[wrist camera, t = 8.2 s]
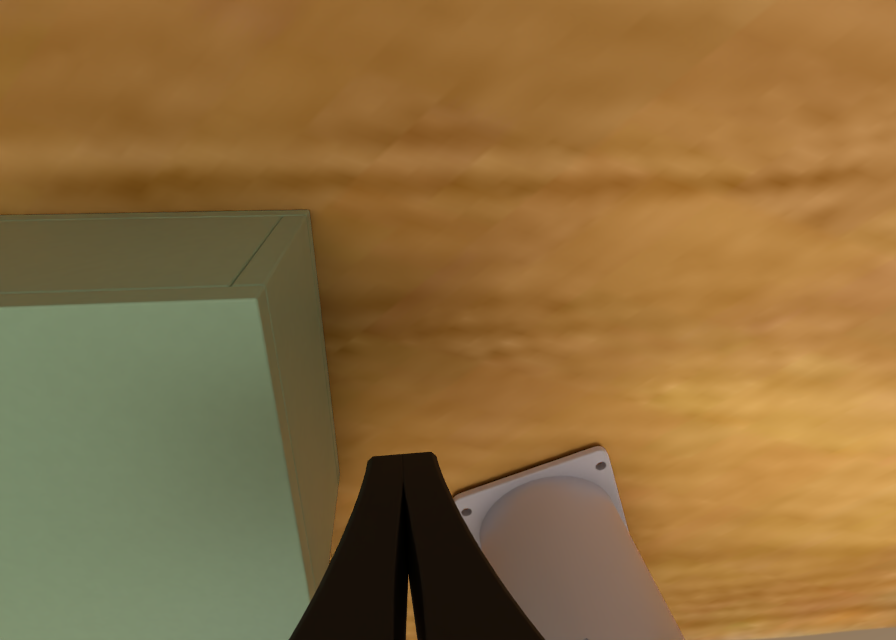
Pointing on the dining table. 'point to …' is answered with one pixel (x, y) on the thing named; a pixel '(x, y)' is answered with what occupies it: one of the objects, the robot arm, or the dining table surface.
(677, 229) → the dining table surface
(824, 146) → the dining table surface
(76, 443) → the green drawer cabinet
